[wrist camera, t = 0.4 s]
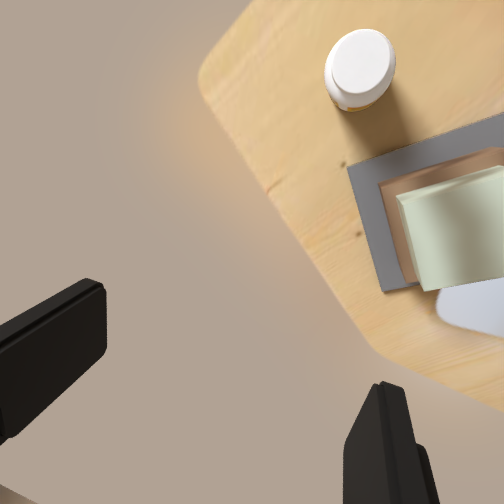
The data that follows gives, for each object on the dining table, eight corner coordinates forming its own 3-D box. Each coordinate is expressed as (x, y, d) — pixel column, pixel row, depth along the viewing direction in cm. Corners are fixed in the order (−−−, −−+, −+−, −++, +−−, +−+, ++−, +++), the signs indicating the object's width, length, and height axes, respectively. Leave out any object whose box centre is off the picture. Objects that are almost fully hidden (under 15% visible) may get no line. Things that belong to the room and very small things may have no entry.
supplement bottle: (397, 63, 29) (420, 33, 20) (366, 121, 31) (375, 116, 22) (345, 41, 29) (344, 2, 21) (318, 99, 32) (308, 87, 23)
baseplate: (514, 108, 28) (520, 107, 27) (535, 257, 31) (540, 261, 30) (346, 166, 33) (346, 167, 32) (381, 287, 37) (381, 291, 36)
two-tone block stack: (490, 146, 28) (540, 151, 21) (506, 245, 31) (556, 279, 24) (377, 182, 32) (386, 197, 25) (399, 267, 34) (414, 303, 27)
